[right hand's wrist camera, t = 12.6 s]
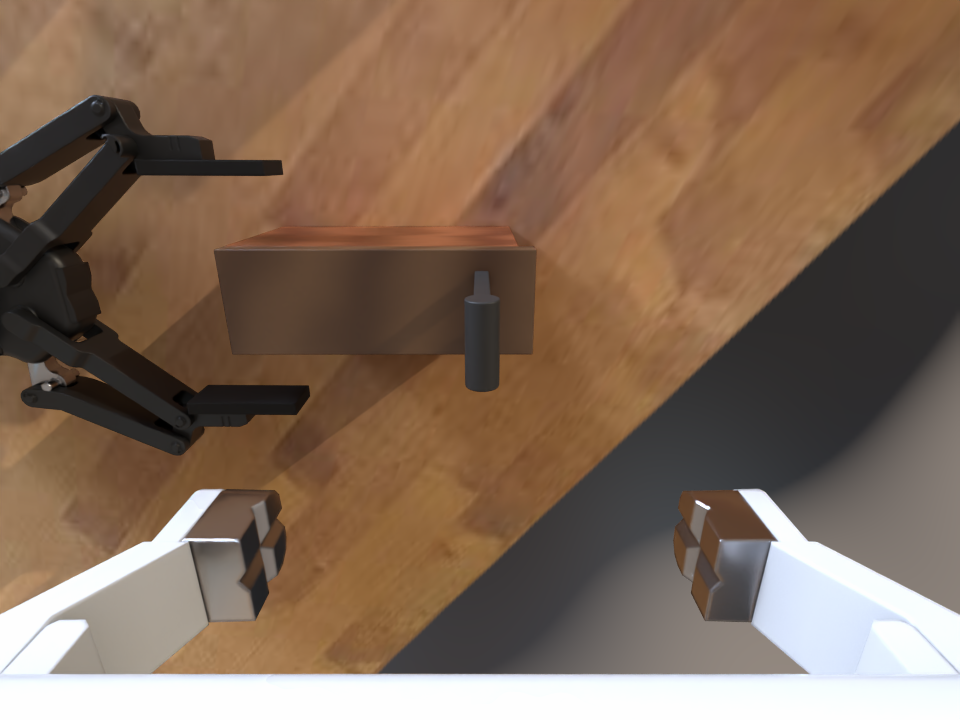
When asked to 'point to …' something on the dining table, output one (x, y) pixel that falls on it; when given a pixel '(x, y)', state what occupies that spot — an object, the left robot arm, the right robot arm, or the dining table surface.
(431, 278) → the lid
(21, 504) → the dining table surface
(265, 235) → the chest
